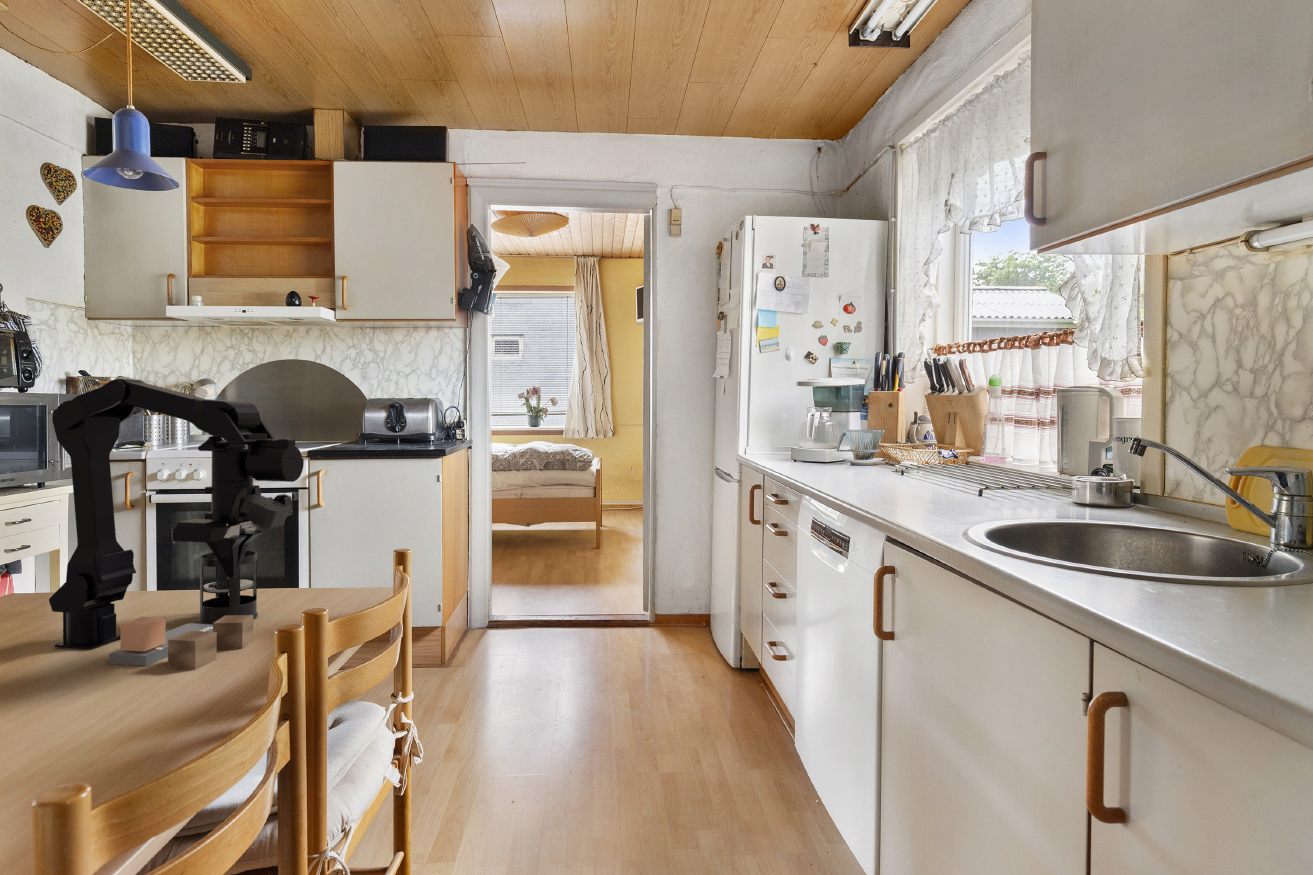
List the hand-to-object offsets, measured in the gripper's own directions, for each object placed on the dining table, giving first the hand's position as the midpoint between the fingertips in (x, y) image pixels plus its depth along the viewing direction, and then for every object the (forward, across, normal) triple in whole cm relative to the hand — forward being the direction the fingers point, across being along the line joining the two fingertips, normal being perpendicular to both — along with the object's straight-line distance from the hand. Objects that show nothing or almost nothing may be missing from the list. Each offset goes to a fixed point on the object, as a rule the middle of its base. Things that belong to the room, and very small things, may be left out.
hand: (232, 577), depth 113 cm
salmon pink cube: (+10, -5, +11) cm, 16 cm away
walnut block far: (+12, +3, +2) cm, 13 cm away
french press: (+12, +16, +13) cm, 24 cm away
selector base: (+12, 0, +11) cm, 16 cm away
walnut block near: (+12, -6, +2) cm, 14 cm away
